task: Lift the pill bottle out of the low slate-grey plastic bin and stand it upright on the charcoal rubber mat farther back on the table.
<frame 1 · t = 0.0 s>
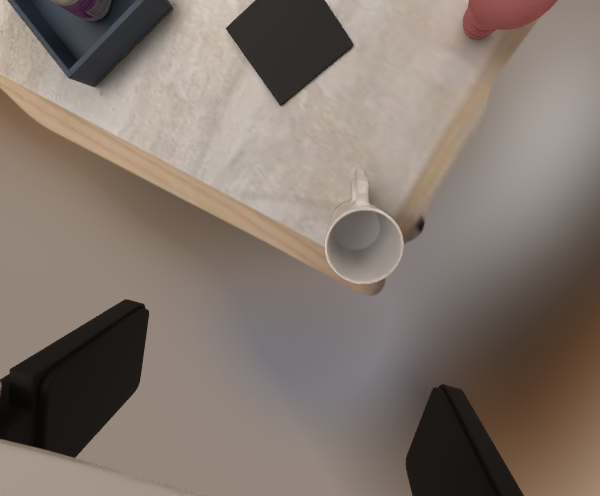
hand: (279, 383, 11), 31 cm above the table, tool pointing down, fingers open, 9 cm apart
mug: (355, 211, 40), on the table
light bulb: (474, 23, 35), on the table
mat: (289, 37, 37), on the table
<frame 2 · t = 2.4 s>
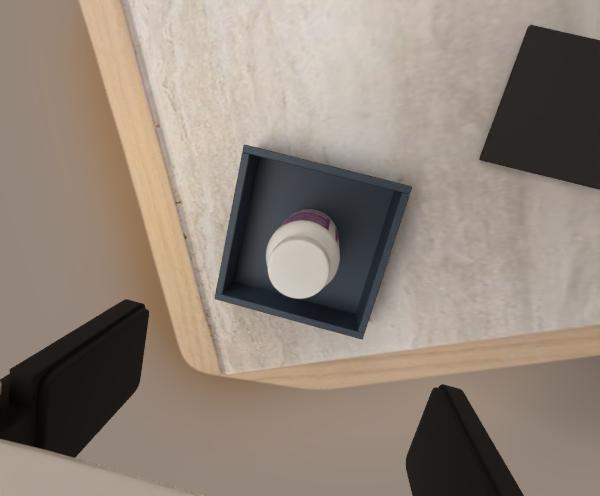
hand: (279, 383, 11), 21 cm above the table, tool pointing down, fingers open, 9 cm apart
mat: (565, 111, 26), on the table
bin: (310, 237, 31), on the table
pill bottle: (309, 237, 30), resting on bin
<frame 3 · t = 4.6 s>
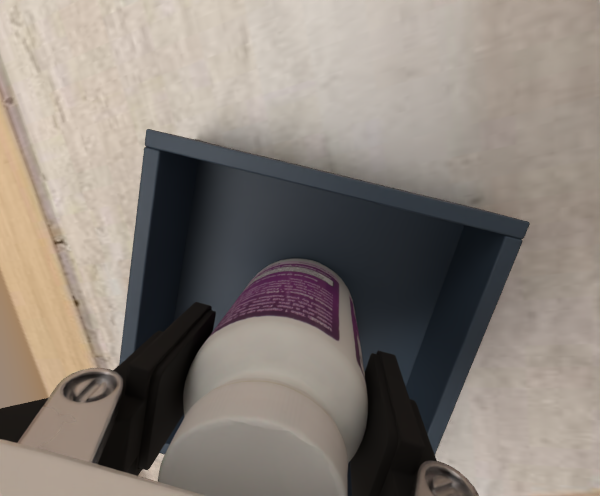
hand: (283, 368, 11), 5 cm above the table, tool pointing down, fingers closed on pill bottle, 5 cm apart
bin: (300, 305, 17), on the table
pill bottle: (299, 308, 16), resting on bin, touching gripper
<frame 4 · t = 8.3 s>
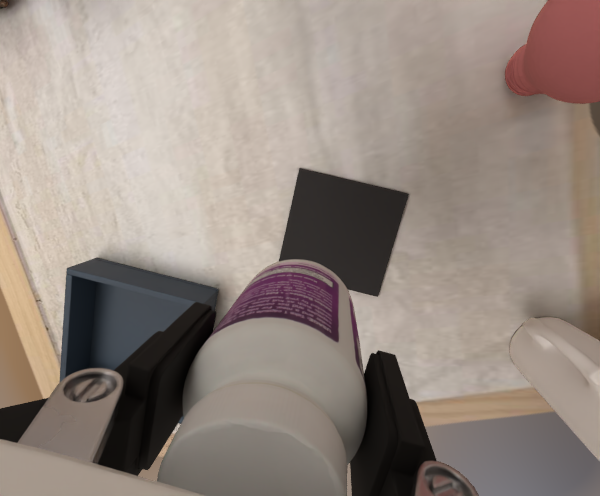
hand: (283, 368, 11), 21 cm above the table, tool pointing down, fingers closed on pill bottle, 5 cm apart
mug: (531, 333, 32), on the table
light bulb: (519, 77, 27), on the table
mat: (339, 233, 31), on the table
bin: (149, 330, 36), on the table
pill bottle: (299, 309, 16), point 16 cm above the table, touching gripper
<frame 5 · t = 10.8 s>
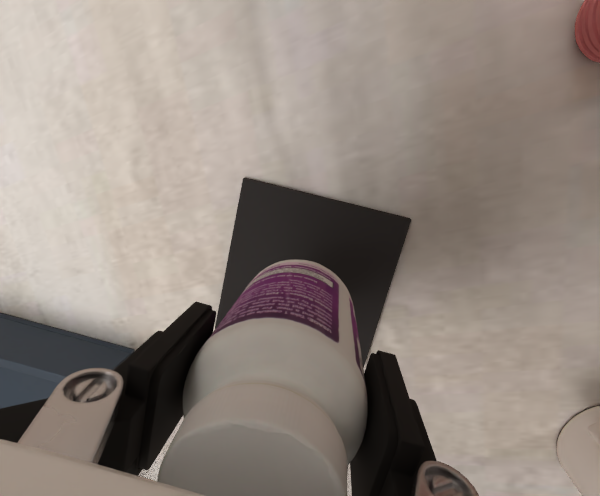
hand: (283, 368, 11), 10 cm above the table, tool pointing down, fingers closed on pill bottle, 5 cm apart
mug: (590, 424, 21), on the table
light bulb: (595, 34, 17), on the table
mat: (306, 275, 21), on the table
bin: (43, 402, 25), on the table
pill bottle: (299, 309, 16), point 5 cm above the table, touching gripper
when the fingers open (5 cm above the table, at t = 12.4 s): pill bottle stays where it is, resting on mat.
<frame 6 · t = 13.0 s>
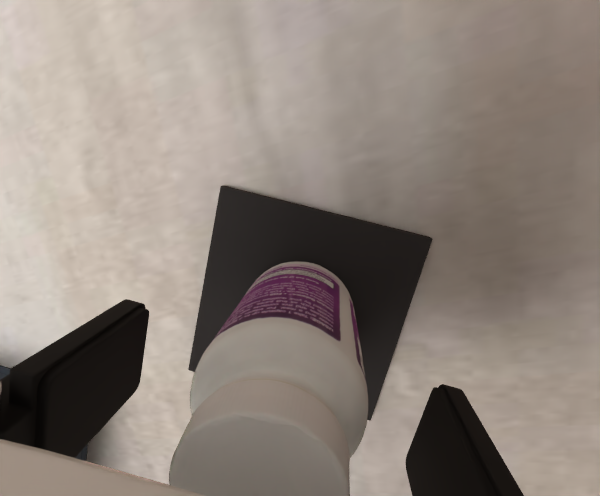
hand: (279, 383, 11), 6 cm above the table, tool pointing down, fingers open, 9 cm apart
mat: (300, 307, 17), on the table
pill bottle: (300, 310, 17), resting on mat
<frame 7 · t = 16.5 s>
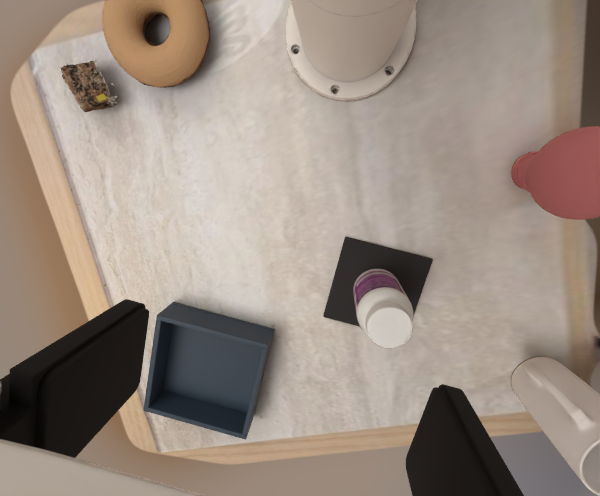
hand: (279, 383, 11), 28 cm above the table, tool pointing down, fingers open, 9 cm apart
donut: (145, 20, 31), point 4 cm above the table
mug: (529, 369, 39), on the table
light bulb: (522, 173, 35), on the table
mat: (375, 288, 39), on the table
bin: (214, 360, 43), on the table
pill bottle: (376, 289, 39), resting on mat
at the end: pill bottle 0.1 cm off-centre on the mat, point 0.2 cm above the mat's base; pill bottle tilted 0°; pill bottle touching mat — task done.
